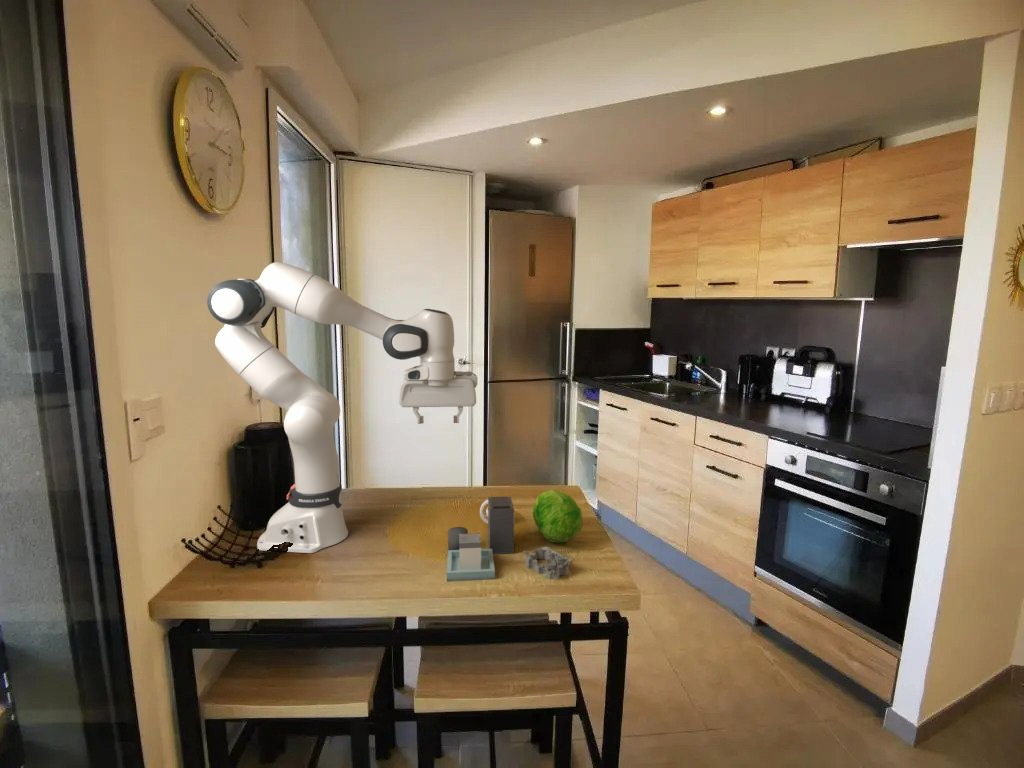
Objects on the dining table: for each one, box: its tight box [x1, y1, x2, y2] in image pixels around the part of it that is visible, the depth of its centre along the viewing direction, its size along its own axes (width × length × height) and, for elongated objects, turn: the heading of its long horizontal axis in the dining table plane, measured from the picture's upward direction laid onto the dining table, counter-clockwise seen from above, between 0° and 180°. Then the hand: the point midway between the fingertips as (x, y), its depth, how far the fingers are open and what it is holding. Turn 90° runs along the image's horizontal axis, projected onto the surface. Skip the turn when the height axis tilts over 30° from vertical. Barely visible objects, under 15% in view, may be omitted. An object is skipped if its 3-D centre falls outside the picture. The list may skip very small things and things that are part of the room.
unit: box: [487, 496, 515, 555], centre depth 135 cm, size 6×8×12 cm
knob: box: [447, 526, 469, 551], centre depth 134 cm, size 5×5×5 cm
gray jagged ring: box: [522, 546, 573, 581], centre depth 124 cm, size 11×8×4 cm
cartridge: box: [459, 532, 482, 570], centre depth 124 cm, size 5×5×7 cm
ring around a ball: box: [479, 499, 488, 525], centre depth 147 cm, size 8×6×8 cm
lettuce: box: [532, 489, 584, 544], centre depth 142 cm, size 13×23×12 cm, turn 5°
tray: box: [446, 548, 496, 582], centre depth 124 cm, size 11×11×2 cm
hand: (438, 422), depth 139 cm, fingers open, 8 cm apart
